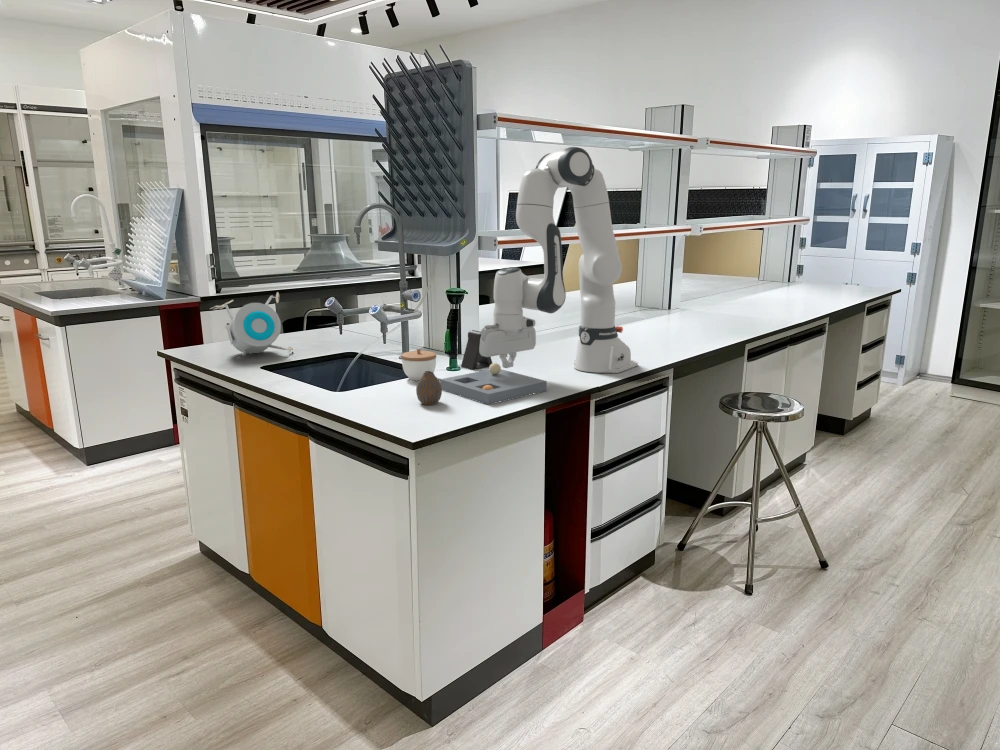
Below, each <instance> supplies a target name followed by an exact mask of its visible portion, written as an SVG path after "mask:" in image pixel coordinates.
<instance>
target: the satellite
mask: <svg viewBox="0 0 1000 750" xmlns="http://www.w3.org/2000/svg"><path fill="white" fill-rule="evenodd" d="M274 298H275V302H276V304H279V302H280V293H279V291H277V292H276V294H275V296H274V295H272V294H271V295H269V297H268V299H267V300H266V302H265V303H262V302H249V303H247V304H244V305H243V306H242V307H241V308H239V310H238V311H237V312H236V313H235V315H234V316H233V314H232V312H231V310H230V308H229V306H228V304H230V303H232V302H234V299H231V300H230V301H227V302H225V303H224V304H221V305H215V306H213V307H210V308H209V310H211V309H212V310H218V309H219V310H222V309H224V308H225V309H226V312H227V313H228V315H229V316H228V317H229V318H230V320H231V321H230V322H229V324H227V325H226V332H227V335H228V339H229V341H230V345H232V346H233V347H234V348H235V350H237V351H239V352H241V355H239V356H238V357H237V359H239V358H240V357H244V356H247V355H249V354H248V353H257V354H259V353H258V352H261V353H262V351H263V352H264V351H266V350H268V348H271V349H278V350H282V351H286V350H288V353H290V352H291V350H293V351H294V348H293V346H288V347H287V348H286V347H285V346H278V345H273V343H274V342H275V341H276V340H277V339H278V338H279V336H280V335H281V329H282V324H281V323H282V322H281V318H280V316H279V314H278V312H276V311H275V309H274V308H273V307H270V306H269V303H270V302H271V300H272V299H274Z"/></svg>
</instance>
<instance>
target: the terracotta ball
mask: <svg viewBox="0 0 1000 750" xmlns="http://www.w3.org/2000/svg"><path fill="white" fill-rule="evenodd" d="M482 389H484V390H491V389H494V388H493V387H492V386H490V385H485V386H484V387H483V388H482Z"/></svg>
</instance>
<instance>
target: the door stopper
mask: <svg viewBox="0 0 1000 750" xmlns="http://www.w3.org/2000/svg"><path fill="white" fill-rule="evenodd" d="M480 338H481V331H478V330H474V329H472V330H470V329H469V331H468V332H467V342H466V345H465V351H464V353H463V356H462V360H461V361H462V362H461V363H460V367H461V368H464V369H467V368H468V370H471V371H475V369H476V370H480V369H487V368H489V367H490V365H491V364H493V363H494V362H493V360H492V356H491V357H485V356H482V355H481V354H480V353H479V347H480Z"/></svg>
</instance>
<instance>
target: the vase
mask: <svg viewBox="0 0 1000 750" xmlns="http://www.w3.org/2000/svg"><path fill="white" fill-rule="evenodd" d="M415 391H416V396H417V400H418V401H419V403H420V404H422V405H424V404H425V405H424V406H432V405H433V404H434V405H436V404H438V403H439V401H440V400H441V398H442V394H443V393H442V392H443V390H442V387H441V384H440V379H439V378H438V377H437V376H436V375H435V372H434V373H433V372H432V371H425V372H424V374H423V376H422V377H421V378H420V380H419V381H418V382H417V384H416V389H415ZM434 405H433V406H434Z"/></svg>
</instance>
